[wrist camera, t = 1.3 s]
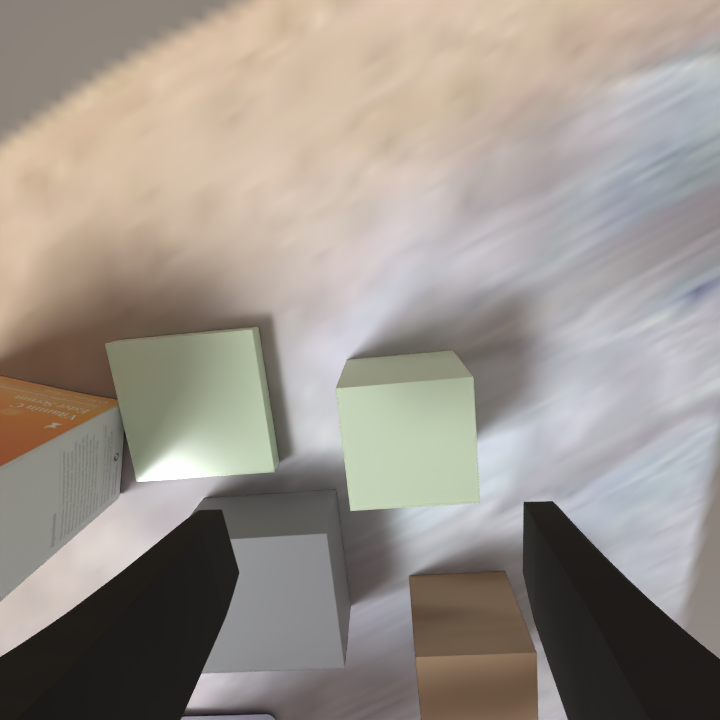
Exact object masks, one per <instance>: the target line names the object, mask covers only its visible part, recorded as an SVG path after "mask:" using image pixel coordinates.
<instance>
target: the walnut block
mask: <svg viewBox="0 0 720 720" xmlns="http://www.w3.org/2000/svg"><path fill="white" fill-rule="evenodd" d="M409 583H410V596H411V608H412V621H413V634H414V647H415V659H416V670H417V681H418V692H419V703H420V713H421V720H538V691H537V652H536V650H535V647H534V645H533V642H532V639H531V637H530V634H529V632H528V629H527V627H526V624H525V622H524V619H523V616H522V614H521V611H520V609H519V606H518V604H517V601H516V598H515V596H514V593H513V591H512V588H511V586H510V583H509V580H508V578H507V575H506V573H505V571H493V572H473V573H454V574H435V575H416V576H409Z"/></svg>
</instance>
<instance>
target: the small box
mask: <svg viewBox="0 0 720 720" xmlns="http://www.w3.org/2000/svg"><path fill="white" fill-rule="evenodd" d="M123 439H124V425H123V420H122V416H121V412H120V408H119V403H118V400H117V399H111V398H105V397H99V396H93V395H88V394H83V393H78V392H73V391H68V390H63V389H59V388H55V387H50V386H45V385H41V384H36V383H31V382H27V381H22V380H18V379H13V378H8V377H4V376H0V601H2V600H3V599H4V598H5V597H6V596H7V595H8V594H9V593H10V592H11V591H13V590H14V589H15V588H16V587H17V586H18V585H20V584H21V583H22V582H23V581H24V580H25V579H26V578H28V577H29V576H30V575H31V574H32V573H33V572H34V571H36V570H37V569H38V568H39V567H40V566H41V565H42V564H44V563H45V562H46V561H47V560H48V559H49V558H50V557H51V556H53V555H54V554H55V553H56V552H57V551H58V550H60V549H61V548H62V547H63V546H64V545H65V544H67V543H68V542H69V541H70V540H71V539H72V538H73V537H75V536H76V535H77V534H78V533H79V532H80V531H81V530H83V529H84V528H85V527H86V526H87V525H88V524H89V523H91V522H92V521H93V520H94V519H95V518H96V517H97V516H99V515H100V514H101V513H102V512H103V511H104V510H106V509H107V508H108V507H109V506H110V505H111V504H112V503H114V502H115V501H116V500H117V499H118V498H119V495H120V482H121V469H122V453H123Z"/></svg>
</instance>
